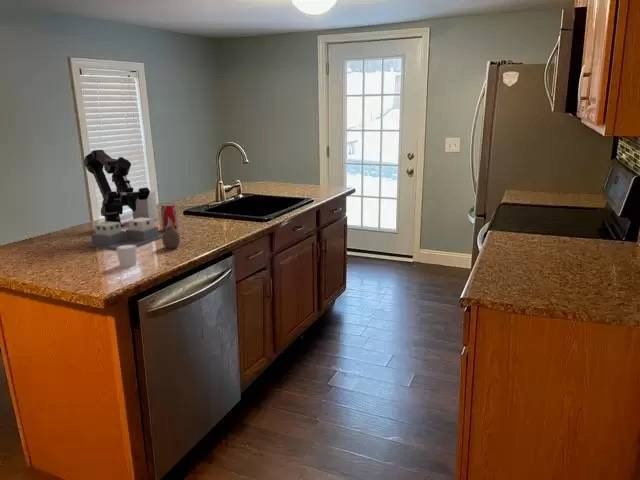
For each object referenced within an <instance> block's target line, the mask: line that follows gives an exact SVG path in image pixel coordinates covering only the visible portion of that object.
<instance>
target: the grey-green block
mask: <svg viewBox="0 0 640 480" xmlns="http://www.w3.org/2000/svg"><path fill="white" fill-rule="evenodd" d="M121 225H122V224H121ZM121 225H120V222H110V221H107V222H105V221H103V222H100V223H96V224H94V231H95V233H96V235H105V236H110V235H113V234H116V233H120V232H121V231H122V227H121Z"/></svg>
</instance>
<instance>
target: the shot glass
mask: <svg viewBox="0 0 640 480" xmlns="http://www.w3.org/2000/svg"><path fill="white" fill-rule="evenodd" d="M116 249H117V250H116V253H117V257H118V261H119V266H120V268H132V267H135V266H137V261H138V260H137V247H136V245H121V246H118V247H117V248H116Z"/></svg>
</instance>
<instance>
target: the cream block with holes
mask: <svg viewBox="0 0 640 480" xmlns="http://www.w3.org/2000/svg"><path fill="white" fill-rule="evenodd" d="M128 227H129V229H130V230H134V231H146V230H149V229H152V228H154V227H155V225H154V221H153V218H141V217H140V218H136V219H133V218H132V219H131V220H128Z"/></svg>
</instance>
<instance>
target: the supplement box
mask: <svg viewBox="0 0 640 480" xmlns="http://www.w3.org/2000/svg"><path fill="white" fill-rule="evenodd" d="M156 201H157V200H156V191H155V190H150V193H149V196H148V198H147V199H145V200H140V199H138V198H137V200H136V211H133V210H132V209H131V211H132V220H133V219H136V218H140V217H141V218H153V222H154V221H157V220H158V210H157V202H156Z"/></svg>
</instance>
